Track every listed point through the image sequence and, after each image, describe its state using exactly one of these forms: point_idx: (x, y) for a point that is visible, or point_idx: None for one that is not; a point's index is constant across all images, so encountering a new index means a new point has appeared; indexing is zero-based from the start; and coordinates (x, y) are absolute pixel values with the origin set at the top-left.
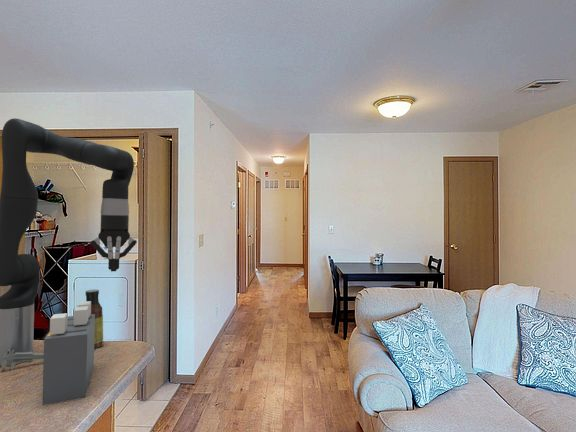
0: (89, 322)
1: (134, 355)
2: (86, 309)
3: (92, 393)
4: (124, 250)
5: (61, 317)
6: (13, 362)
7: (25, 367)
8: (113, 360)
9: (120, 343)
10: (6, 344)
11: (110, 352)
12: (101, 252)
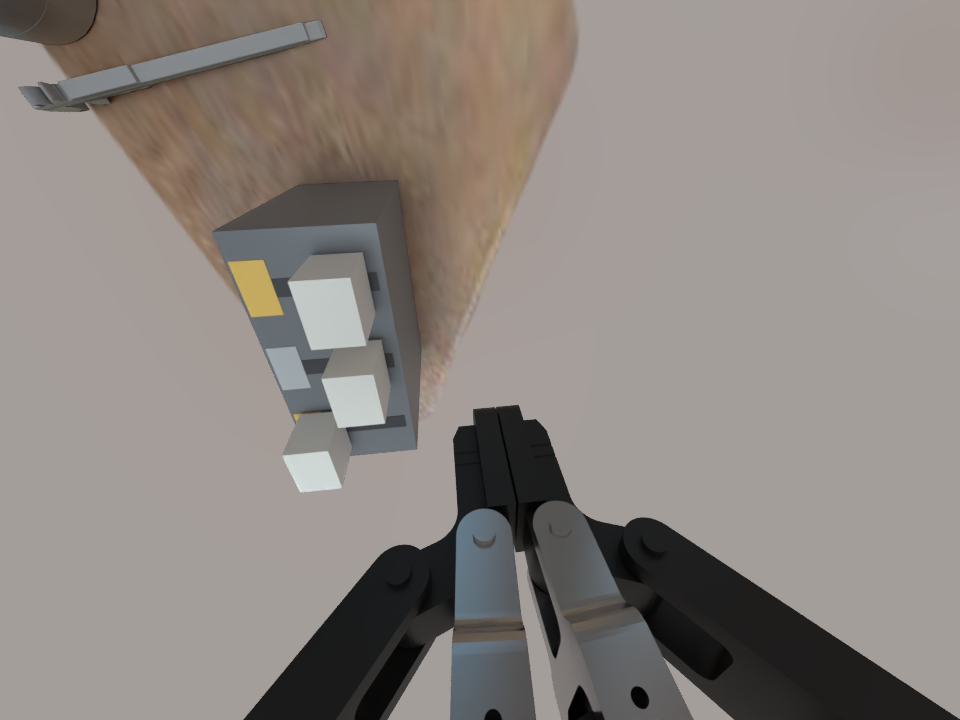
0: (390, 350)
1: (518, 125)
2: (382, 422)
3: (431, 338)
4: (684, 611)
5: (331, 487)
6: (93, 101)
7: (148, 93)
8: (451, 148)
9: None
10: None
11: (429, 43)
12: (381, 672)
